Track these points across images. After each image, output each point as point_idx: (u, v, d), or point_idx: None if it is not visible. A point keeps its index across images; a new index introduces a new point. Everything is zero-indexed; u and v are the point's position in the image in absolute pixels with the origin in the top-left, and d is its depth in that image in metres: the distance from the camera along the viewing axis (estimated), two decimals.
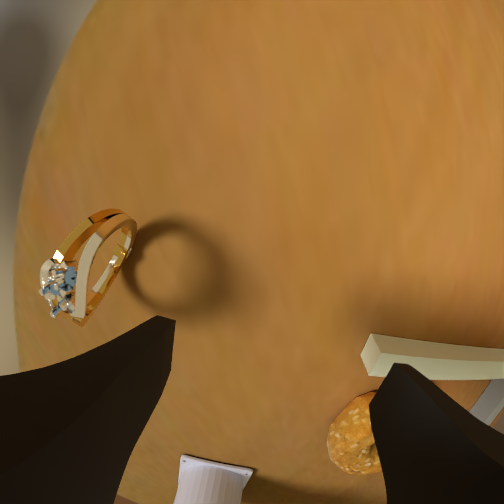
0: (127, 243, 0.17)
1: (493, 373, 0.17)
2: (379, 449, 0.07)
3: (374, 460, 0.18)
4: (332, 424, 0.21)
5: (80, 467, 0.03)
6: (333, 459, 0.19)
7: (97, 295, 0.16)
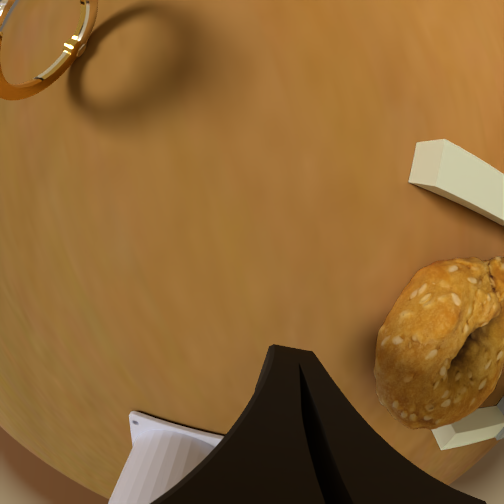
0: (82, 32, 0.09)
1: None
2: None
3: (454, 394, 0.10)
4: (382, 327, 0.13)
5: None
6: (389, 397, 0.11)
7: (27, 84, 0.09)
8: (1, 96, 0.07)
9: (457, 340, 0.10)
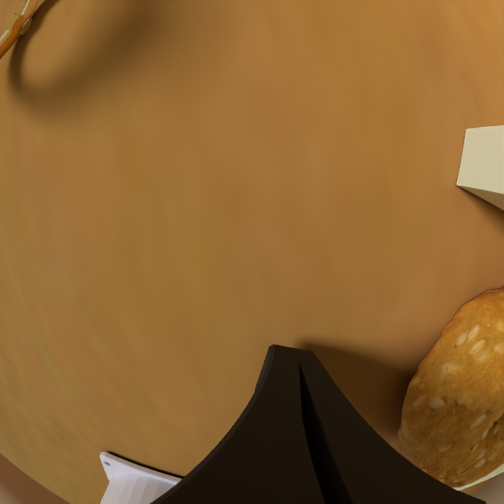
0: (26, 4, 0.05)
1: None
2: None
3: (490, 452, 0.06)
4: (416, 381, 0.08)
5: None
6: (416, 465, 0.07)
7: None
8: None
9: None
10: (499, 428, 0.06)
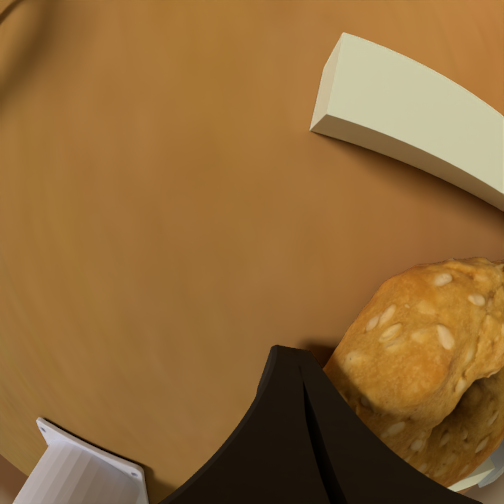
0: None
1: None
2: None
3: (436, 466, 0.06)
4: None
5: None
6: None
7: None
8: None
9: (443, 405, 0.05)
10: (450, 438, 0.06)
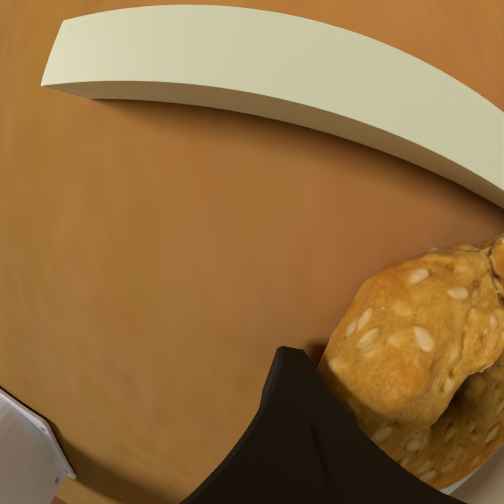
0: None
1: None
2: None
3: (443, 462, 0.06)
4: None
5: None
6: None
7: None
8: None
9: (431, 407, 0.05)
10: (455, 432, 0.06)
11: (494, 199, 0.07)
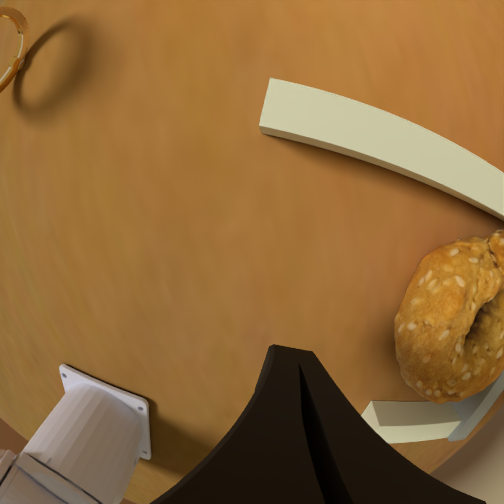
0: (20, 50, 0.10)
1: None
2: None
3: (473, 367, 0.11)
4: (397, 315, 0.13)
5: None
6: (413, 378, 0.12)
7: None
8: None
9: (466, 318, 0.10)
10: (477, 348, 0.11)
11: (493, 214, 0.12)
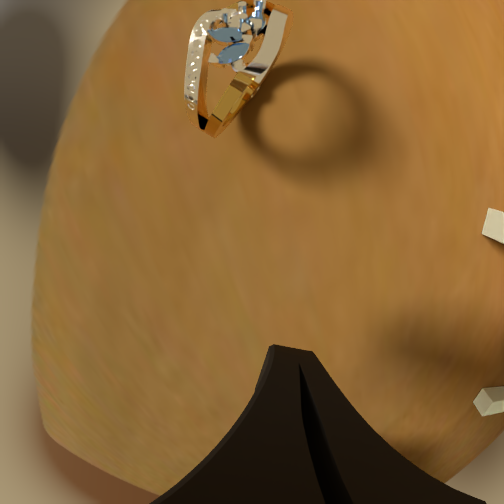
0: (261, 75, 0.13)
1: None
2: None
3: None
4: None
5: None
6: None
7: None
8: (214, 134, 0.11)
9: None
10: None
11: None
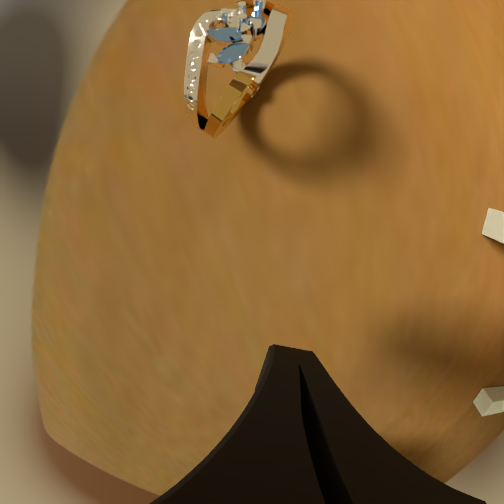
0: (261, 75, 0.13)
1: None
2: None
3: None
4: None
5: None
6: None
7: None
8: (214, 134, 0.11)
9: None
10: None
11: None
